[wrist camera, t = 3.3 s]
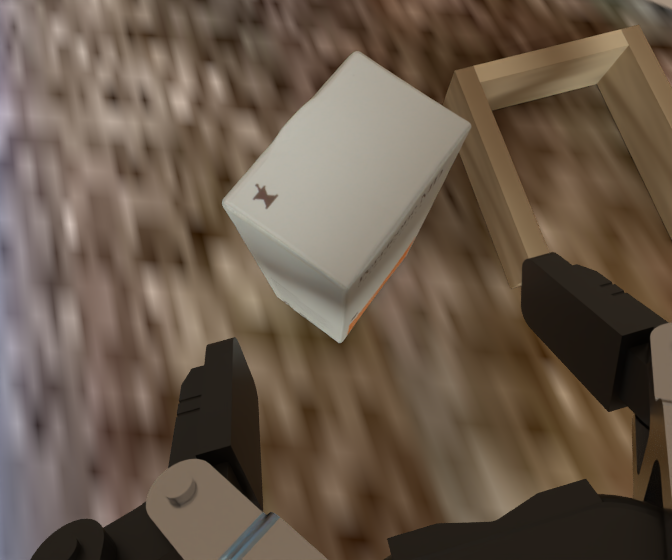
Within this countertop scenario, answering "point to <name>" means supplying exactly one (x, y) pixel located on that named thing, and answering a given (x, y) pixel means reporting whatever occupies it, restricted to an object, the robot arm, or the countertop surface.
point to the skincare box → (345, 191)
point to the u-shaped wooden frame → (549, 79)
